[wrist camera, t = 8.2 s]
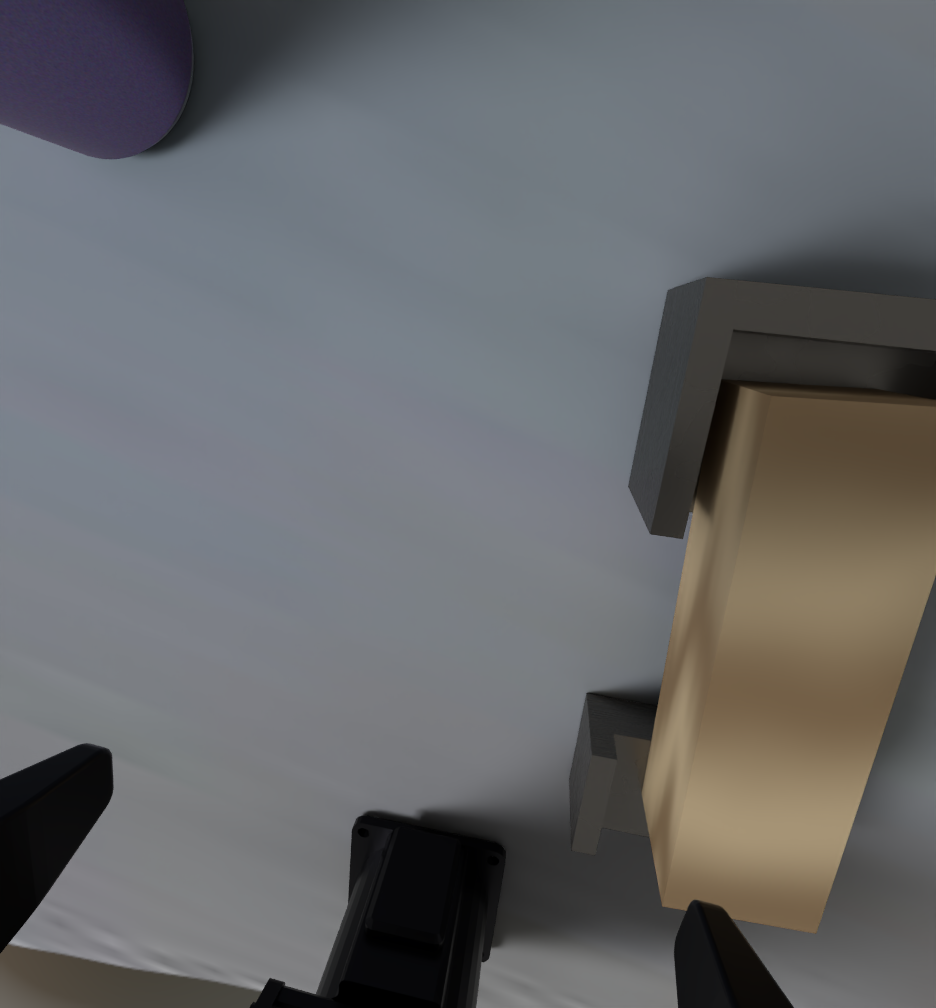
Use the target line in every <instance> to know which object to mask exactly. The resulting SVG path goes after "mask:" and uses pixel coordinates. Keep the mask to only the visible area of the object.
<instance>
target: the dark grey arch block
mask: <svg viewBox="0 0 936 1008" xmlns="http://www.w3.org/2000/svg"><path fill="white" fill-rule="evenodd" d="M657 707H658V706H656V705H650V704H645V703H639V702H633V701H628V700H622V699H617V698H611V697H606V696H600V695H594V694H589V693H586V698H585V703H584V708H583V713H582V718H581V723H580V728H579V733H578V738H577V743H576V748H575V753H574V758H573V763H572V768H571V773H570V778H569V789H570V823H571V851H576V852H581V853H586V854H590V855H595V854H596V850H597V846H598V841H599V837H600V833H601V828H606V829H611V830H616V831H621V832H626V833H631V834H636V835H641V836H645V837H649V831H648V826H647V820H646V815H645V810H644V804H643V799H642V789H643V783H644V778H645V772H646V767H647V762H648V756H649V751H650V745H651V740H652V734H653V729H654V723H655V718H656V712H657Z"/></svg>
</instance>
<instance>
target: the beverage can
mask: <svg viewBox="0 0 936 1008" xmlns="http://www.w3.org/2000/svg"><path fill="white" fill-rule="evenodd" d="M193 68H194V52H193V41H192V34H191V29H190V24H189V20H188V16H187V11H186V8H185V5H184V1H183V0H0V124H2V125H5V126H8V127H11V128H13V129H16V130H19V131H21V132H24V133H27V134H30V135H32V136H35V137H38V138H41V139H43V140H46V141H49V142H51V143H54V144H57V145H60V146H62V147H65V148H68V149H71V150H73V151H76V152H79V153H82V154H84V155H87V156H91V157H95V158H101V159H120V158H126V157H130V156H133V155H136V154H138V153H140V152H143V151H145V150H146V149H148V148H150V147H151V146H153V145H155V144H156V143H157V142H159V141H160V140H161V139H163V138H164V137H165V136H166V135H167V134H168V133H169V132H170V131H171V129H172V128H173V127H174V125H175V124H176V123H177V121H178V120H179V118H180V116H181V114H182V112H183V110H184V108H185V106H186V103H187V100H188V97H189V94H190V90H191V85H192V79H193Z"/></svg>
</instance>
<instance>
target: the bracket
mask: <svg viewBox="0 0 936 1008" xmlns="http://www.w3.org/2000/svg"><path fill="white" fill-rule="evenodd" d="M721 379H726V380H742V381H757V382H773V383H789V384H805V385H821V386H836V387H852V388H868V389H880V390H886V391H891V392H896V393H901V394H907V395H912V396H917V397H922V398H928V399H933V400H936V299H925V298H915V297H905V296H895V295H884V294H874V293H864V292H854V291H843V290H833V289H823V288H813V287H802V286H792V285H782V284H772V283H762V282H751V281H741V280H731V279H721V278H710V277H706V278H703V279H700V280H697V281H694V282H691V283H688V284H685V285H682V286H679V287H676V288H673V289H670V290H668V292H667V297H666V302H665V307H664V312H663V317H662V322H661V326H660V331H659V336H658V341H657V346H656V351H655V356H654V361H653V366H652V371H651V376H650V381H649V386H648V391H647V396H646V401H645V406H644V411H643V416H642V421H641V426H640V431H639V436H638V440H637V445H636V450H635V455H634V460H633V465H632V470H631V475H630V480H629V485H628V487H629V489H630V491H631V493H632V496H633V498H634V500H635V502H636V504H637V507H638V509H639V511H640V513H641V515H642V518H643V520H644V522H645V524H646V526H647V529H648V531H649V533H650V534H653V535H659V536H666V537H673V538H680V539H683V536H684V532H685V528H686V524H687V520H688V516H689V512H693V510H694V505H695V500H696V494H697V489H698V483H699V478H700V472H701V467H702V461H703V456H704V450H705V445H706V441H707V437H708V433H709V428H710V424H711V420H712V416H713V412H714V408H715V403H716V399H717V395H718V391H719V387H720V383H721Z"/></svg>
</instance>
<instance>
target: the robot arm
mask: <svg viewBox="0 0 936 1008" xmlns="http://www.w3.org/2000/svg"><path fill="white" fill-rule="evenodd" d="M112 793H113V766H112V753H111V752H110V750H109V749H107V748H105V747H101V746H97V745H93V744H88V743H85V744H80V745H77V746H75V747H73V748H70V749H68V750H66V751H64V752H61V753H59V754H57V755H55V756H52V757H50V758H48V759H45V760H43V761H41V762H39V763H36V764H34V765H32V766H30V767H27V768H25V769H23V770H21V771H18V772H16V773H14V774H11V775H9V776H7V777H5V778H2V779H0V953H1V952H2V951H3V950H4V948H5V947H6V946H7V945H8V943H9V942H10V941H11V940H12V938H13V937H14V936H15V935H16V933H17V932H18V931H19V930H20V928H21V927H22V926H23V925H24V923H25V922H26V921H27V920H28V918H29V917H30V916H31V915H32V913H33V912H34V911H35V909H36V908H37V907H38V905H39V904H40V903H41V901H42V900H43V898H44V897H45V896H46V894H47V893H48V892H49V890H50V889H51V887H52V886H53V884H54V883H55V881H56V880H57V878H58V877H59V876H60V874H61V873H62V871H63V870H64V868H65V867H66V865H67V864H68V862H69V861H70V859H71V858H72V857H73V855H74V854H75V852H76V851H77V849H78V848H79V846H80V845H81V843H82V842H83V840H84V839H85V838H86V836H87V835H88V833H89V832H90V830H91V829H92V827H93V826H94V824H95V823H96V821H97V820H98V819H99V817H100V816H101V814H102V813H103V811H104V810H105V808H106V807H107V805H108V803H109V801H110V799H111V797H112ZM364 828H365V829H364ZM493 856H495V857H493ZM505 858H506V851H505V849H504V848H503V847H502V846H501V845H500V844H497V843H494V842H489V841H484V840H479V839H475V838H470V837H465V836H460V835H456V834H451V833H446V832H442V831H437V830H432V829H427V828H423V827H418V826H413V825H408V824H404V823H399V822H394V821H390V820H385V819H380V818H375V817H371V816H360V817H358V818H357V819H356V821H355V823H354V826H353V829H352V840H351V859H350V879H349V898H348V906H347V909H346V912H345V915H344V917H343V920H342V923H341V926H340V929H339V931H338V934H337V937H336V940H335V942H334V945H333V948H332V951H331V954H330V956H329V959H328V962H327V965H326V967H325V970H324V973H323V976H322V979H321V981H320V984H319V987H318V990H317V992H316V994H312V993H309V992H305V991H302V990H298V989H295V988H291V987H287V986H285V982H282V981H279V980H275V979H272V978H270V979H269V980H268V982H267V984H266V985H265V987H264V989H263V991H262V993H261V995H260V996H259V998H258V1000H257V1002H256V1003H255V1002H253V1003H252V1004H251V1006H250V1008H476V1004H477V996H478V987H479V979H480V970H481V962H485V961H487V960H488V959H489V956H490V950H491V944H492V938H493V932H494V926H495V920H496V914H497V908H498V902H499V896H500V890H501V884H502V878H503V872H504V866H505ZM674 960H675V973H676V986H677V999H678V1008H794V1007H793V1006H792V1004H791V1003H790V1001H789V1000H788V998H787V997H786V996H785V994H784V993H783V991H782V990H781V988H780V987H779V986H778V984H777V983H776V981H775V980H774V978H773V977H772V976H771V974H770V973H769V971H768V970H767V968H766V967H765V966H764V964H763V963H762V961H761V960H760V958H759V957H758V956H757V954H756V953H755V951H754V950H753V948H752V947H751V946H750V944H749V943H748V941H747V940H746V938H745V937H744V936H743V934H742V933H741V931H740V930H739V928H738V927H737V926H736V924H735V923H734V921H733V920H732V918H731V917H730V916H729V914H728V913H727V911H726V910H725V909H724V908H723V907H721V906H719V905H717V904H713V903H709V902H705V901H701V900H693V901H691V902H690V904H689V906H688V908H687V911H686V913H685V916H684V918H683V921H682V923H681V926H680V928H679V931H678V933H677V936H676V940H675V947H674Z"/></svg>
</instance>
